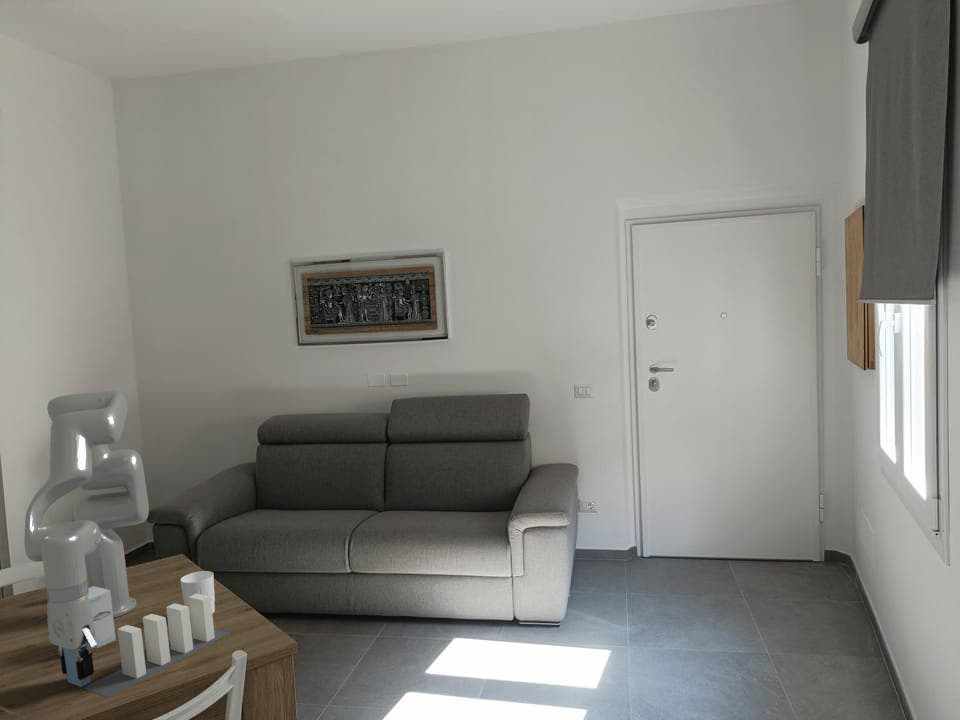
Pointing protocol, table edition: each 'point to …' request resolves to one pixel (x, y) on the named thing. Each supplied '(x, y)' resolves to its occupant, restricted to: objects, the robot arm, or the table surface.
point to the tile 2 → (131, 651)
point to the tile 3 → (156, 639)
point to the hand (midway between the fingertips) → (78, 673)
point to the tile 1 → (74, 667)
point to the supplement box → (102, 615)
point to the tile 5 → (201, 617)
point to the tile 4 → (179, 628)
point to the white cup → (198, 586)
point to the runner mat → (121, 681)
